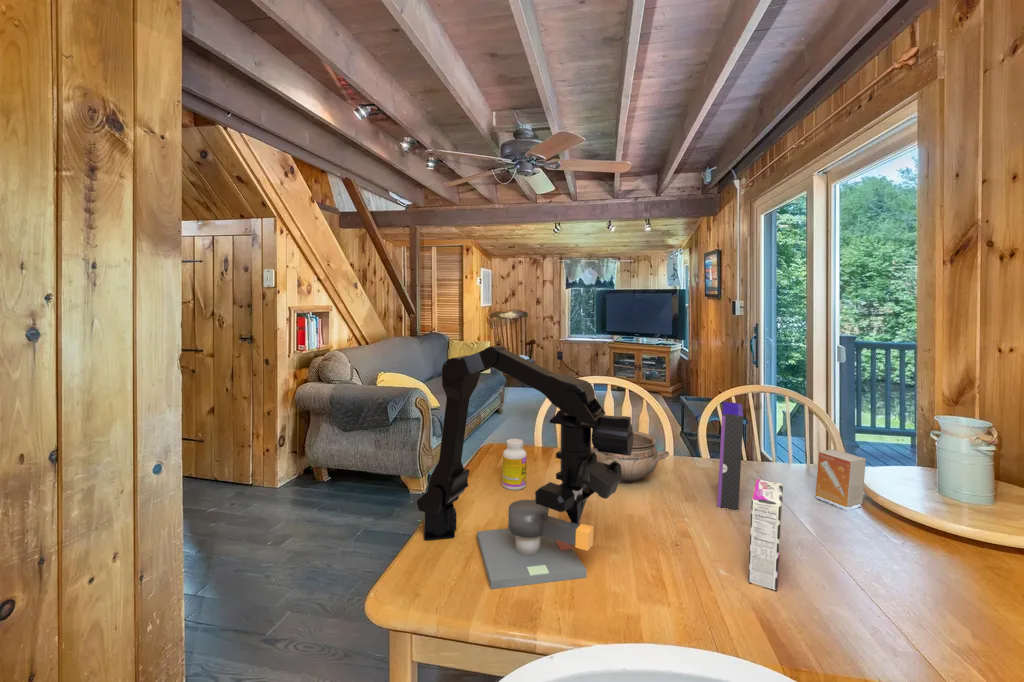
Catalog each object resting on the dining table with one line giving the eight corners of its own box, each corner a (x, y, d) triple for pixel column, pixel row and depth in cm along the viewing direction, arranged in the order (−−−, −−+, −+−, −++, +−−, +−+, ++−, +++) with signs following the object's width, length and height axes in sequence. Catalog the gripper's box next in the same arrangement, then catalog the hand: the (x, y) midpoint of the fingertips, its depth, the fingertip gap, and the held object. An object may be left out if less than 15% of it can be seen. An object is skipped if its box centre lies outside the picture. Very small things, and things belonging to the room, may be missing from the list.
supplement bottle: (523, 492, 122) (524, 445, 121) (500, 489, 124) (500, 443, 123) (527, 482, 129) (528, 438, 128) (505, 480, 130) (505, 436, 129)
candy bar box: (750, 555, 93) (755, 477, 91) (779, 563, 90) (784, 483, 89) (745, 583, 83) (750, 497, 82) (777, 593, 80) (783, 503, 79)
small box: (814, 499, 120) (818, 451, 119) (830, 495, 123) (833, 448, 122) (847, 511, 113) (851, 461, 112) (862, 507, 116) (866, 458, 114)
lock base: (491, 589, 80) (491, 558, 80) (477, 537, 98) (477, 512, 97) (586, 577, 84) (587, 548, 84) (556, 530, 102) (557, 505, 101)
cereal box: (718, 483, 130) (723, 401, 128) (737, 486, 128) (741, 403, 126) (717, 507, 114) (722, 414, 113) (738, 511, 112) (743, 416, 110)
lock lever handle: (500, 531, 89) (500, 511, 89) (520, 515, 96) (521, 496, 96) (582, 557, 80) (582, 535, 80) (598, 538, 87) (598, 517, 87)
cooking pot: (663, 470, 140) (665, 431, 139) (672, 495, 121) (674, 451, 120) (582, 463, 145) (583, 426, 144) (578, 486, 126) (579, 443, 125)
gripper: (588, 473, 73) (587, 564, 75) (636, 442, 87) (635, 519, 89) (533, 458, 80) (533, 541, 82) (586, 431, 94) (585, 503, 96)
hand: (575, 525), depth 87 cm, fingers closed
